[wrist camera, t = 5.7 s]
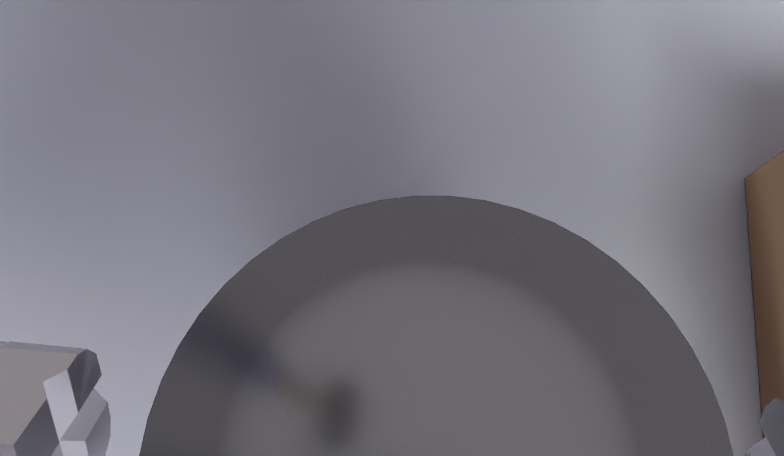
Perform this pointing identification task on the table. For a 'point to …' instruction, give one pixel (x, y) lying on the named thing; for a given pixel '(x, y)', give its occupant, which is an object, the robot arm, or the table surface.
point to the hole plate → (768, 273)
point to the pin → (434, 347)
